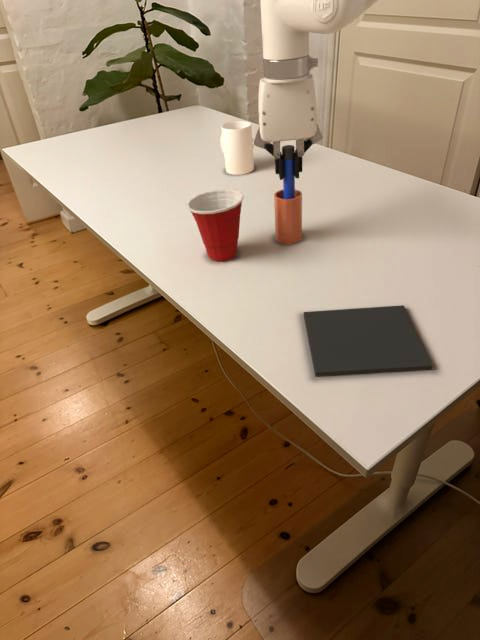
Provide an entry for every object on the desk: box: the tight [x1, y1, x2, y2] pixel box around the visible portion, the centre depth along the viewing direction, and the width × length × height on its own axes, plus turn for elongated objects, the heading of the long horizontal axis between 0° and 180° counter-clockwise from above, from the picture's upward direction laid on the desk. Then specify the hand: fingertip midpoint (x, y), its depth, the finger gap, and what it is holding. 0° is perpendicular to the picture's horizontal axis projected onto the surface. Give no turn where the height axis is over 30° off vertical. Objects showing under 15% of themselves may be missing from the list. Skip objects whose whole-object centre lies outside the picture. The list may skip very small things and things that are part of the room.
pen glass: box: [273, 188, 303, 245], centre depth 94 cm, size 5×5×10 cm
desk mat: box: [303, 305, 434, 377], centre depth 69 cm, size 16×14×1 cm
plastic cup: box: [186, 188, 245, 262], centre depth 89 cm, size 11×11×12 cm
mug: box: [219, 120, 255, 176], centre depth 128 cm, size 8×12×12 cm
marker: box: [281, 144, 296, 199], centre depth 90 cm, size 2×2×15 cm
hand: (288, 175), depth 88 cm, fingers closed on marker, 2 cm apart
